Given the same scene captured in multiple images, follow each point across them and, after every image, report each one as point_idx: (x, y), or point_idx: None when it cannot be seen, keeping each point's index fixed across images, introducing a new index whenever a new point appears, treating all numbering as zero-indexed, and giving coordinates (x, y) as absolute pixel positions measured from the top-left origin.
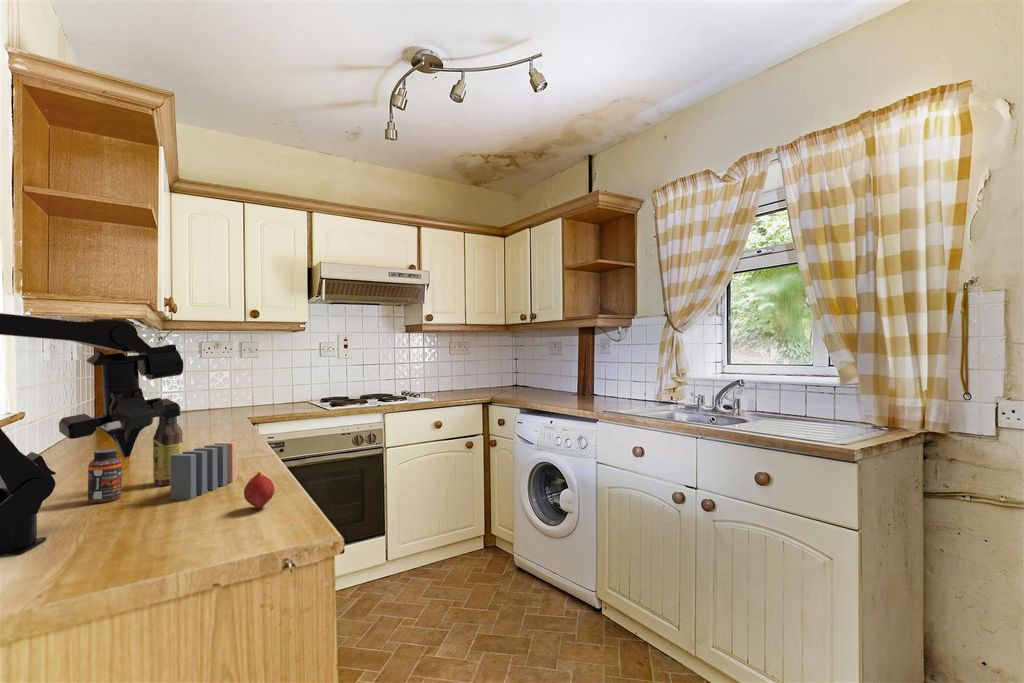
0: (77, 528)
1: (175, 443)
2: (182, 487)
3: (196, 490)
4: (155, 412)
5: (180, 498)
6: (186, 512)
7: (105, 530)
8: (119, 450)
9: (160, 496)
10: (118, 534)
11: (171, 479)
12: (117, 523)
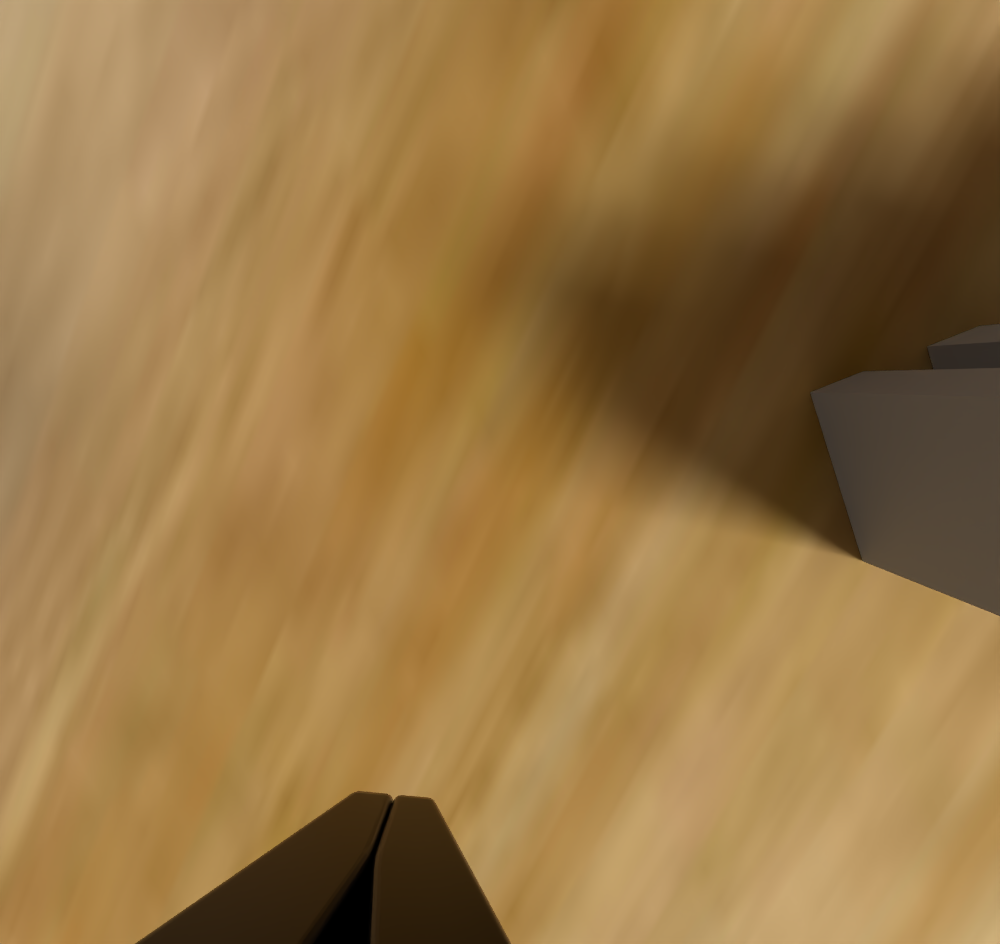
0: (94, 527)
1: None
2: (902, 507)
3: None
4: None
5: (839, 476)
6: (662, 846)
7: (184, 758)
8: (282, 849)
9: (820, 225)
10: None
11: (917, 403)
12: (298, 668)
